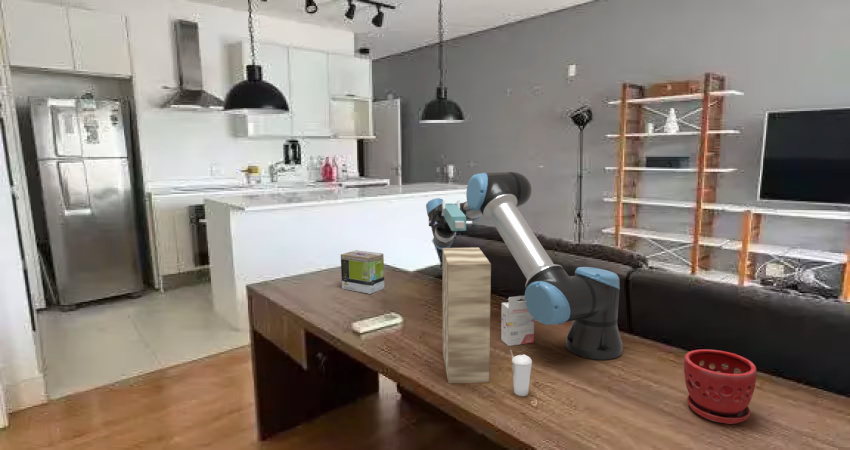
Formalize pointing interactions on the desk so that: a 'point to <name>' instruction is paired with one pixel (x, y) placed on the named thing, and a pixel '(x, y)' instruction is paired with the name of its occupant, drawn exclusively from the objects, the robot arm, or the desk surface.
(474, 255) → the stand
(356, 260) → the tea box
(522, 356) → the milkshake
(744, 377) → the plant pot
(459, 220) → the teal rounded-top bar
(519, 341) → the ink cartridge box
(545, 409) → the desk surface
